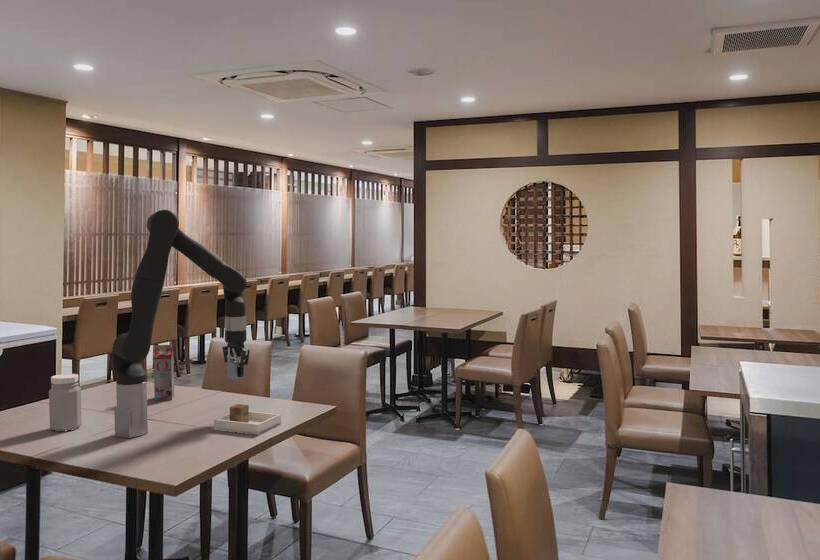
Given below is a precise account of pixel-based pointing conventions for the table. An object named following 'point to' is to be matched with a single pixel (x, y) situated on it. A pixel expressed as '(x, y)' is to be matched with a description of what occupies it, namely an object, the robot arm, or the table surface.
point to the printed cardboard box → (163, 372)
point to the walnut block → (239, 413)
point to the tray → (249, 423)
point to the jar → (65, 402)
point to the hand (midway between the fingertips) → (236, 375)
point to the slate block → (233, 370)
